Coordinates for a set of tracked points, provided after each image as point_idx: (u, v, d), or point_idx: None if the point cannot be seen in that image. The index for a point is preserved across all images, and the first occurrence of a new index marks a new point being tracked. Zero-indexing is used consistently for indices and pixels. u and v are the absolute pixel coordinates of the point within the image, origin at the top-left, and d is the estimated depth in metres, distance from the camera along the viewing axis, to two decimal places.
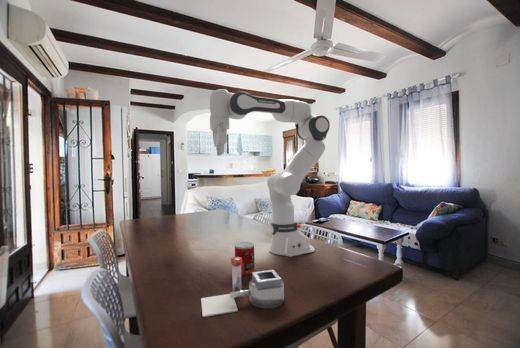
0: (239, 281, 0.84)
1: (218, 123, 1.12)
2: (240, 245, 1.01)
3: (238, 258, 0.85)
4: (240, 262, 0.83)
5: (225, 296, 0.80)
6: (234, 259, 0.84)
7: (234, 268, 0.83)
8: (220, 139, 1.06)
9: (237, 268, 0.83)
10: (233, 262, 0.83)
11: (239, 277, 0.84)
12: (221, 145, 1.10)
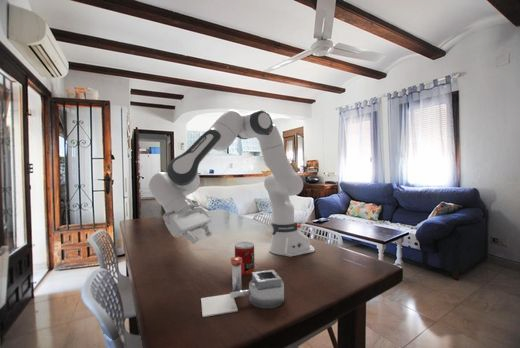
0: (239, 281, 0.84)
1: None
2: (240, 245, 1.01)
3: (238, 258, 0.85)
4: (240, 262, 0.83)
5: (225, 296, 0.80)
6: (234, 259, 0.84)
7: (234, 268, 0.83)
8: (173, 234, 0.81)
9: (237, 268, 0.83)
10: (233, 262, 0.83)
11: (239, 277, 0.84)
12: (185, 235, 0.83)
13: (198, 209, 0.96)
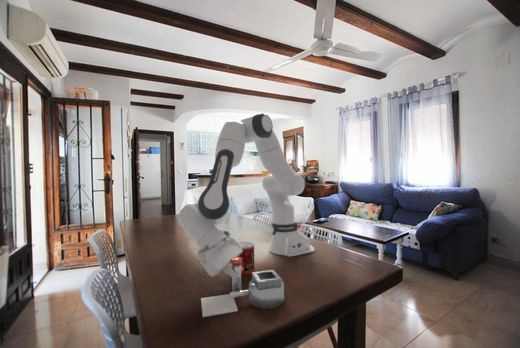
0: (239, 281, 0.84)
1: None
2: (240, 245, 1.01)
3: (238, 258, 0.85)
4: (240, 262, 0.83)
5: (225, 296, 0.80)
6: (234, 259, 0.84)
7: (234, 268, 0.83)
8: (210, 273, 0.77)
9: (237, 268, 0.83)
10: (233, 262, 0.83)
11: (239, 277, 0.84)
12: (225, 270, 0.82)
13: (229, 240, 0.92)
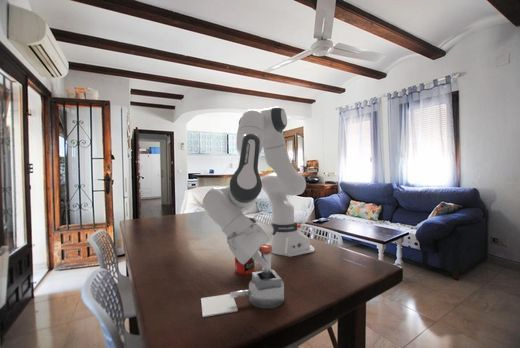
0: (269, 270, 0.78)
1: None
2: None
3: (267, 246, 0.79)
4: (270, 250, 0.78)
5: (225, 296, 0.80)
6: (264, 247, 0.78)
7: (264, 256, 0.78)
8: (240, 260, 0.71)
9: (267, 256, 0.78)
10: (263, 250, 0.77)
11: (269, 266, 0.78)
12: (255, 257, 0.76)
13: (256, 227, 0.86)
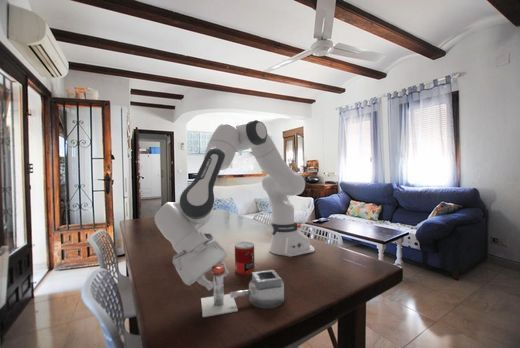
0: (221, 293, 0.75)
1: None
2: (240, 245, 1.01)
3: (220, 267, 0.76)
4: (222, 271, 0.75)
5: (225, 296, 0.80)
6: (215, 268, 0.75)
7: (215, 278, 0.75)
8: (185, 282, 0.68)
9: (218, 278, 0.75)
10: (214, 271, 0.74)
11: (221, 288, 0.75)
12: (200, 280, 0.71)
13: (212, 243, 0.83)
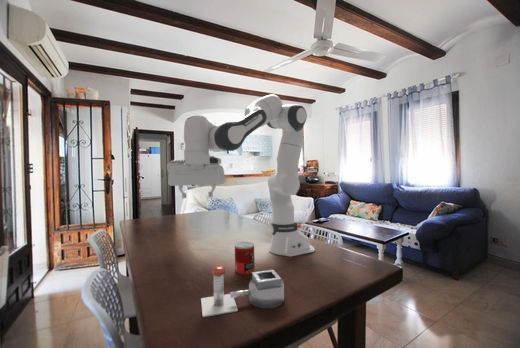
0: (221, 293, 0.75)
1: None
2: (240, 245, 1.01)
3: (220, 267, 0.76)
4: (222, 272, 0.75)
5: (225, 296, 0.80)
6: (216, 268, 0.75)
7: (215, 278, 0.75)
8: None
9: (218, 278, 0.75)
10: (214, 272, 0.74)
11: (221, 288, 0.75)
12: None
13: (214, 168, 0.92)
